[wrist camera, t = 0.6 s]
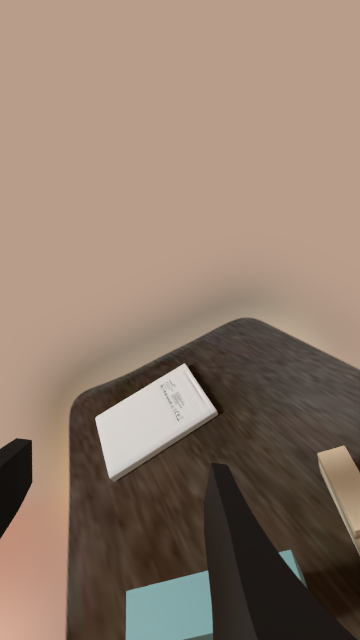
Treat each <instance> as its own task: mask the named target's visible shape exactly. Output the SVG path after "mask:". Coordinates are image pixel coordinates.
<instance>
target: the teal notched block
mask: <svg viewBox="0 0 360 640" xmlns="http://www.w3.org/2000/svg"><path fill="white" fill-rule="evenodd" d="M279 554H280V555H281V557H282V558H283V559H284V561H285V562H286V563H287V565H288V566H289V567H290V568H291V570H292V571H293V572H294V573H295V575H296V576H297V577H298V578H299V579H300V581H301V582H302V583H303V584H304V585H305V586H306V587H307V585H306V582H305V579H304V576H303V573H302V571H301V569H300V567H299V565H298V563H297V561H296V559H295V557H294V555H293V553H292V551H291V550H288V551H284V552H280V553H279ZM307 589H308V588H307ZM126 640H213V620H212V604H211V593H210V584H209V574H208V571H205V572H201V573H197V574H193V575H189V576H185V577H181V578H177V579H173V580H169V581H165V582H161V583H157V584H153V585H149V586H145V587H141V588H137V589H133V590H129V591H126Z"/></svg>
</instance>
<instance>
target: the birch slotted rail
mask: <svg viewBox="0 0 360 640" xmlns="http://www.w3.org/2000/svg"><path fill="white" fill-rule="evenodd" d="M317 454H318V460H319V466H320V472H321V475H322V477H323V479H324V481H325V483H326V485H327V487H328V489H329V491H330V494H331V496H332V498H333V500H334V502H335V504H336V506H337V508H338V510H339V513H340V515H341V517H342V519H343V521H344V523H345V525H346V527H347V529H348V532H349V534H350V536H351V538H352V540H353V542H354V544H355V546H356V549H357V551H358V553H359V555H360V472H359V470H358V468H357V467H356V465H355V463H354V461H353V460H352V458H351V456H350V454H349V453H348V451H347V449H346V447H345V446H341V447H337V448H334V449H331V450H327V451H324V452H320V453H317Z"/></svg>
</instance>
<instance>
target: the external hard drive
mask: <svg viewBox="0 0 360 640" xmlns="http://www.w3.org/2000/svg"><path fill="white" fill-rule="evenodd" d="M217 415H218V413H217V411H216V409H215V407H214V406H213V404H212V403H211V402H210V400H209V399H208V397H207V396H206V394H205V393H204V391H203V390H202V388H201V387H200V385H199V384H198V382H197V381H196V379H195V378H194V376H193V375H192V373H191V372H190V370H189V369H188V367H187V366H186V364H185V363H184V364H183V365H181V366H179V367H178V368H176V369H174V370H173V371H171V372H169V373H168V374H166V375H164V376H163V377H161V378H159V379H158V380H156V381H154V382H153V383H151V384H150V385H148V386H146V387H145V388H143V389H141V390H140V391H138V392H136V393H135V394H133V395H131V396H130V397H128V398H126V399H125V400H123V401H121V402H120V403H118V404H116V405H115V406H113V407H112V408H110V409H108V410H107V411H105V412H103V413H102V414H100V415H98V416H97V417H96V418H95V420H96V424H97V428H98V433H99V437H100V441H101V445H102V450H103V454H104V458H105V462H106V467H107V471H108V474H109V478H110V479H112V480H113V481H114V482H115V481H116V480H118V479H119V478H121V477H123V476H124V475H126V474H127V473H129V472H130V471H132V470H133V469H135V468H136V467H138V466H140V465H141V464H143V463H144V462H146V461H147V460H149V459H150V458H152V457H154V456H155V455H157V454H158V453H160V452H161V451H163V450H164V449H166V448H168V447H169V446H171V445H172V444H174V443H175V442H177V441H178V440H180V439H181V438H183V437H185V436H186V435H188V434H189V433H191V432H192V431H194V430H195V429H197V428H199V427H200V426H202V425H203V424H205V423H206V422H208V421H209V420H211V419H212V418H214V417H216V416H217Z"/></svg>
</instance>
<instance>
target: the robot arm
mask: <svg viewBox="0 0 360 640" xmlns="http://www.w3.org/2000/svg"><path fill="white" fill-rule="evenodd" d="M31 484H32V441H31V440H26V439H17V438H16V439H15V440H13V441H12V442H10V443H8V444H7V445H5V446H4V447H2V448H1V449H0V538H1V537H2V535H3V534H4V532H5V530H6V529H7V527H8V526H9V524H10V523H11V521H12V519H13V518H14V516H15V515H16V513H17V512H18V510H19V508H20V506H21V504H22V502H23V500H24V498H25V496H26V494H27V492H28V490H29V488H30V486H31ZM204 535H205V545H206V555H207V565H208V574H209V584H210V593H211V604H212V620H213V640H357V639H356V638H355V637H354V636H353V635H352V634H351V633H350V632H348V631H347V630H346V629H345V628H344V627H343V626H342V625H341V624H340V623H339V622H338V621H337V620H336V619H335V618H334V617H333V616H332V615H331V614H330V613H329V612H328V611H327V610H326V608H325V607H324V606H323V605H322V604H321V603H320V602H319V601H318V600H317V599H316V598H315V597H314V595H313V594H312V593H311V592H310V591H309V590H308V589H307V587H306V586H305V585H304V584H303V583H302V582H301V581H300V579H299V578H298V577H297V576H296V575H295V573H294V572H293V571H292V570H291V568H290V567H289V566H288V565H287V563H286V562H285V561H284V559H283V558H282V557H281V555H280V554H279V553H278V551H277V550H276V549H275V547H274V546H273V544H272V543H271V541H270V540H269V538H268V537H267V535H266V534H265V532H264V531H263V529H262V528H261V526H260V525H259V523H258V521H257V520H256V518H255V516H254V515H253V513H252V511H251V510H250V508H249V506H248V504H247V503H246V501H245V499H244V497H243V495H242V494H241V492H240V490H239V488H238V486H237V484H236V482H235V480H234V478H233V476H232V473H231V471H230V469H229V467H228V466H227V465H225V464H217V463H211V468H210V474H209V479H208V485H207V490H206V496H205V501H204Z"/></svg>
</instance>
